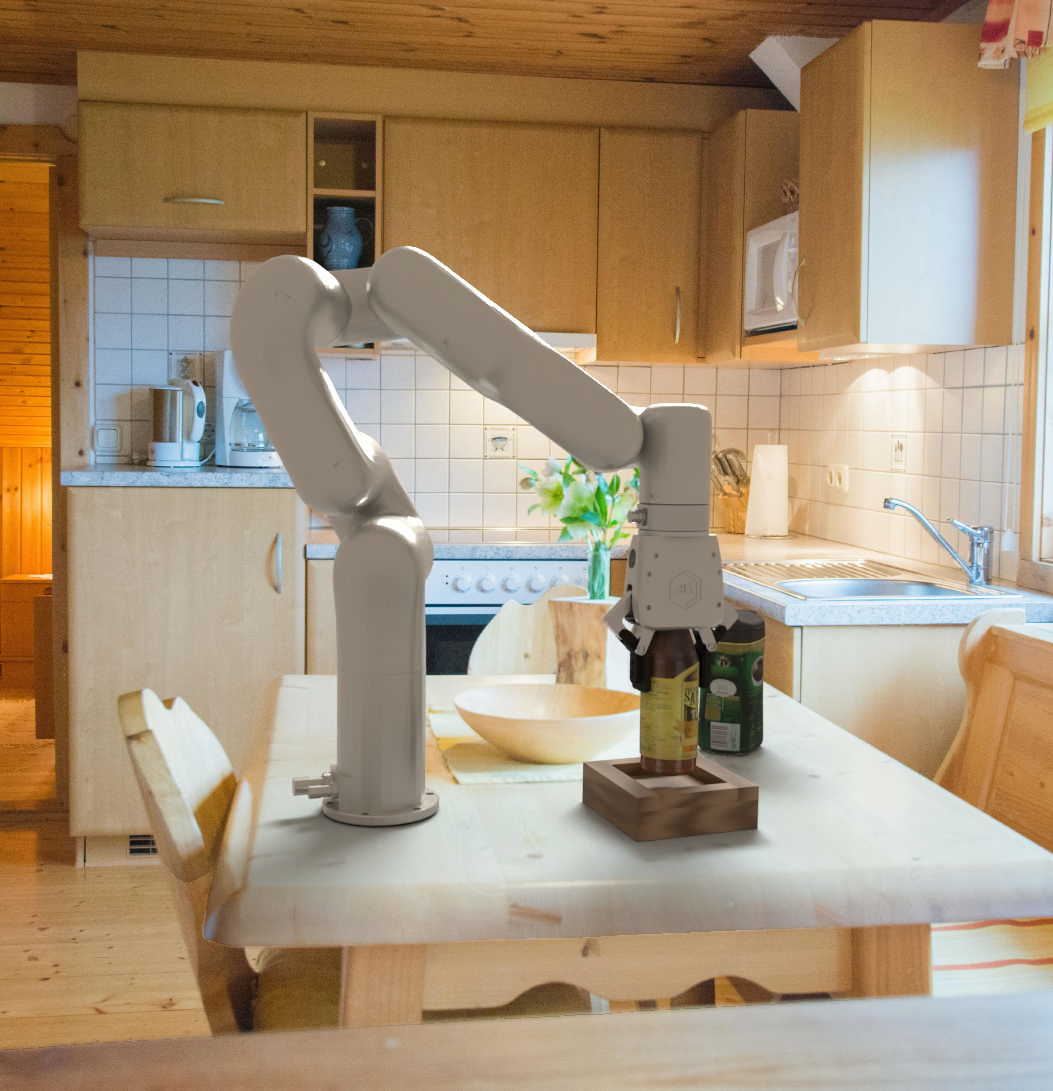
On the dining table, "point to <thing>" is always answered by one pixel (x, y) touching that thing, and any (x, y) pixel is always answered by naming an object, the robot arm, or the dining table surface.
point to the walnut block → (669, 799)
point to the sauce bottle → (670, 705)
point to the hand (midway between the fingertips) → (670, 686)
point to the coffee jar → (735, 690)
